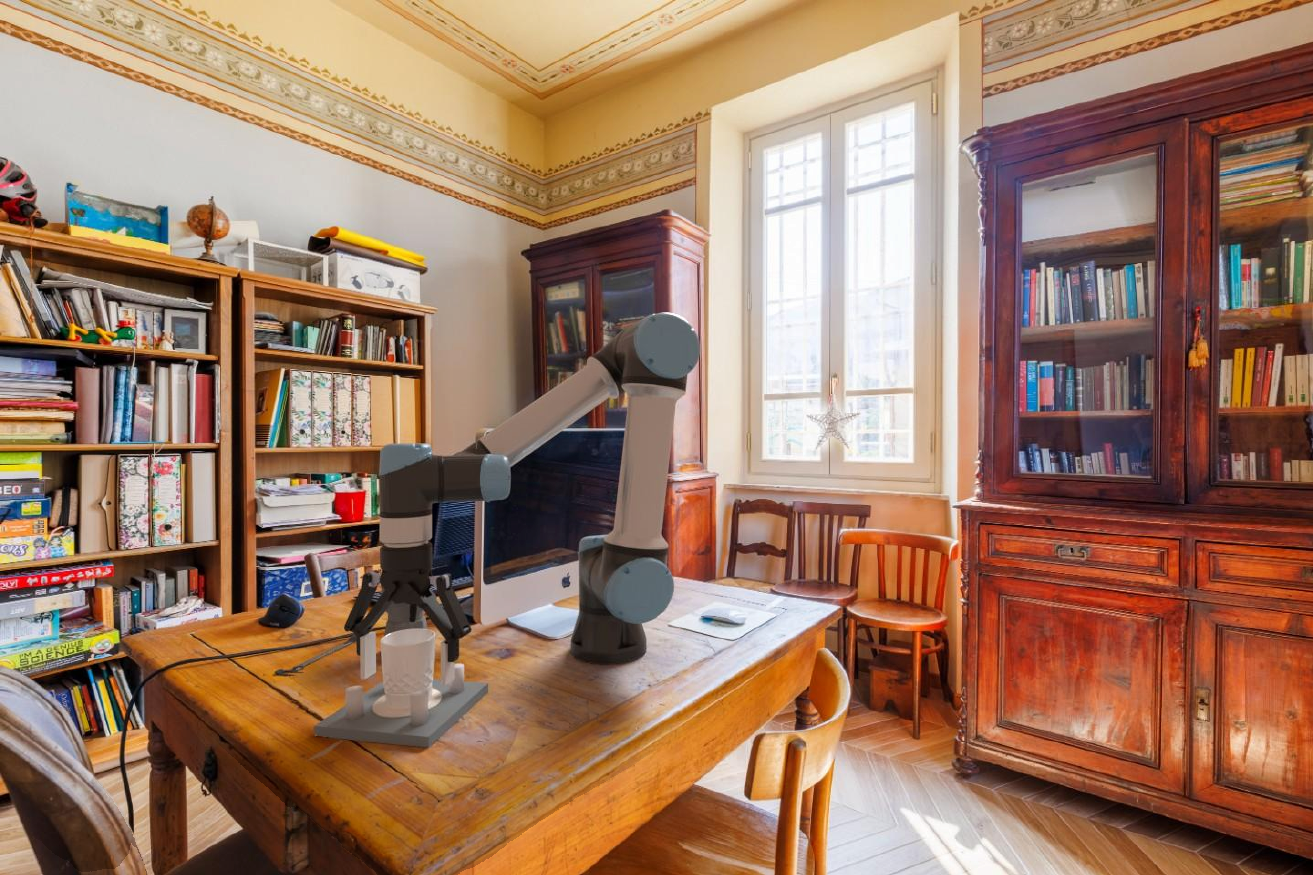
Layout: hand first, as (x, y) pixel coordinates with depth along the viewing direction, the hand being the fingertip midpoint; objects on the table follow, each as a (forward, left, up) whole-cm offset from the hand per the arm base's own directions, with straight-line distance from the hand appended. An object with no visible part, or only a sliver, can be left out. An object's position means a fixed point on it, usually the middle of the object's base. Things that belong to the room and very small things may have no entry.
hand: (407, 679), depth 93 cm
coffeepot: (+15, -23, -5) cm, 28 cm away
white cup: (0, 0, -4) cm, 4 cm away
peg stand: (0, 0, -5) cm, 5 cm away
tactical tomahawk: (+29, -19, -6) cm, 35 cm away
